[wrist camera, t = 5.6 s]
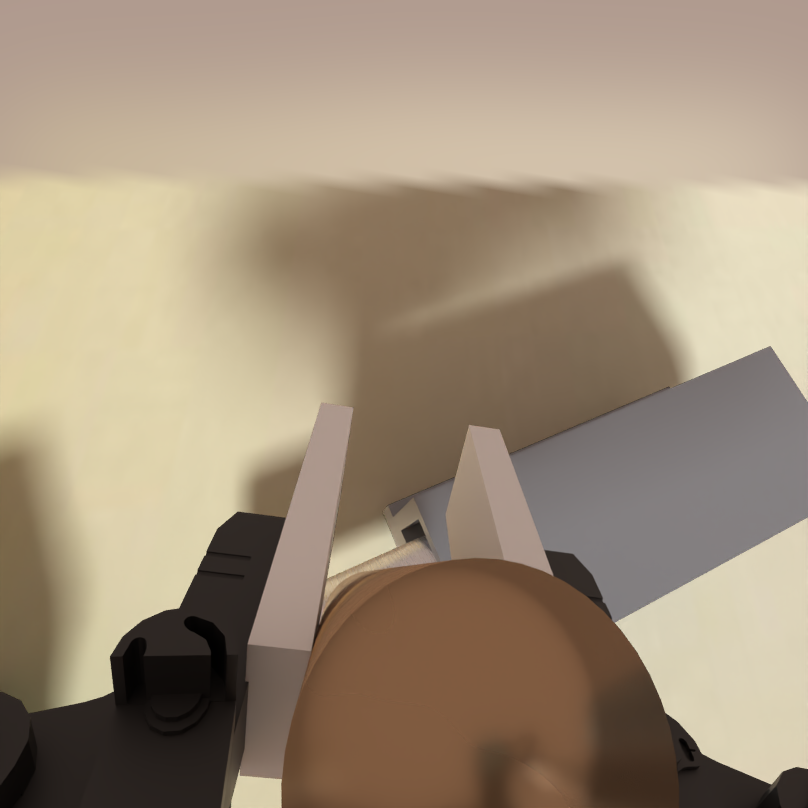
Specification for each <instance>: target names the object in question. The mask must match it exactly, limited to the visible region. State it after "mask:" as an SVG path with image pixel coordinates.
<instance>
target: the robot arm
mask: <svg viewBox="0 0 808 808" xmlns="http://www.w3.org/2000/svg"><path fill="white" fill-rule="evenodd" d="M353 408H354V407H347V406H340V405H334V404H327V403H321V406H320V409H319V412H318V415H317V419H316V422H315V425H314V428H313V432H312V435H311V438H310V442H309V445H308V448H307V451H306V455H305V458H304V461H303V464H302V468H301V471H300V474H299V477H298V481H297V484H296V487H295V491H294V494H293V497H292V500H291V504H290V507H289V510H288V513H287V517H286V518H282V517H275V516H267V515H259V514H252V513H244V512H237V513H236V514H234V515H233V516H232V517H231V518H230V519H229V520H227V521H226V522H225V523H224V524H223V525H221V526H220V527H219V528H218V529H217V531H216V533H215V535H214V537H213V539H212V541H211V543H210V545H209V547H208V549H207V553H206V556H204V558H203V560H202V562H201V564H200V566H199V568H198V572H197V575H195V576H194V579H193V581H192V583H191V585H190V587H189V589H188V591H187V593H186V595H185V597H184V599H183V601H182V604H181V606H180V608H179V609H173V610H166V611H163V612H161V613H159V614H156V615H154V616H152V617H149V618H147V619H145V620H143V621H141V622H140V623H139V624H138V625H136V626H135V627H134V628H133V629H131V630H130V631H129V632H128V633H127V634H125V635H124V636H123V637H122V639H121V640H120V642H119V643H118V645H117V646H116V648H115V650H114V651H113V653H112V654H111V656H110V661H111V670H112V679H113V688H114V692H112V693H110V694H108V695H106V696H104V697H100V698H97V699H94V700H90V701H87V702H83V703H78V704H73V705H69V706H64V707H59V708H54V709H49V710H44V711H39V712H34V713H29V714H28V712H27V710H26V709H25V707H24V705H23V703H22V702H21V701H20V700H18V699H16V698H14V697H12V696H10V695H7V694H5V693H3V692H0V808H231V800H232V796H233V792H234V788H235V784H236V780H237V776H238V773H239V769H240V776H252V777H263V778H275V779H282V774H283V764H284V755H285V748H286V744H287V739H288V735H289V730H290V726H291V721H292V718H293V714H294V711H295V707H296V704H297V700H298V697H299V693H300V690H301V686H302V683H303V679H304V676H305V672H306V669H307V665H308V662H309V658H310V655H311V652H312V649H313V645H314V642H315V638H316V635H317V631H318V628H319V623H320V617H321V611H322V605H323V599H324V593H325V587H326V581H327V575H328V569H329V563H330V557H331V551H332V545H333V539H334V533H335V527H336V521H337V515H338V509H339V503H340V496H341V489H342V483H343V476H344V469H345V462H346V455H347V449H348V442H349V435H350V428H351V421H352V415H353ZM446 522H447V530H448V538H449V545H450V553H451V560H457V559H469V558H488V559H501V560H506V561H511V562H516V563H521V564H524V565H527V566H530V567H533V568H536V569H539V570H542V571H544V572H546V573H548V574H550V575H552V576H554V577H556V578H558V579H560V580H562V581H564V582H566V583H568V584H569V585H570V586H572V587H573V588H575V589H576V590H578V591H579V592H581V593H582V594H584V595H585V596H586V597H588V598H589V599H590V600H591V601H592V602H593V603H595V604H596V605H597V606H598V607H599V608H600V609H602V610H603V611H604V612H605V613H606V614H607V616H608V617H609V618H610V619H611V620H612V616H611V614H610V612H609V610H608V608H607V605H606V603H603V597H602V595H601V592H600V590H599V588H598V586H597V584H596V582H595V579H594V577H593V575H592V574H591V573H590V572H589V571H588V570H587V568H586V567H585V566H584V565H583V564H582V563H581V562H580V561H579V560H578V559H577V557H576V556H575V555H574V554H571V553H564V552H556V551H549V550H544V549H543V546H542V543H541V541H540V538H539V535H538V532H537V530H536V527H535V524H534V521H533V519H532V516H531V513H530V511H529V508H528V505H527V502H526V500H525V497H524V494H523V492H522V489H521V486H520V483H519V481H518V478H517V475H516V473H515V470H514V467H513V464H512V462H511V459H510V456H509V454H508V451H507V448H506V445H505V443H504V440H503V437H502V434H501V432H500V429H493V428H487V427H480V426H473V425H469V427H468V431H467V435H466V438H465V442H464V446H463V450H462V454H461V458H460V461H459V465H458V469H457V473H456V477H455V481H454V484H453V488H452V492H451V496H450V500H449V503H448V507H447V511H446ZM665 714H666V713H665ZM666 718H667V721H668V724H669V727H670V731H671V736H672V741H673V745H674V750H675V755H676V763H677V772H678V782H679V808H808V769H804V768H799V767H795V768H792V769H789V770H786V771H783V772H782V773H781V774H780V776H779V777H778V778H777V779H776V780H775V781H774V783H773V784H772V785H771V784H768V783H766V782H764V781H761V780H759V779H756V778H754V777H752V776H749V775H747V774H745V773H742V772H740V771H738V770H735V769H733V768H730V767H728V766H726V765H723V764H721V763H719V762H716V761H714V760H712V759H710V758H709V757H707V756H705V755H703V754H702V753H701V752H700V750H699V748H698V746H697V744H696V743H695V741H694V740H693V738H692V737H691V736H690V735H689V734H688V733H687V732H686V731H685V730H684V728H683V727H682V726H681V725H680V724H679V723H678V722H677V721H676V720H674V719H673V718H671V717H670V716H669V715H667V714H666Z"/></svg>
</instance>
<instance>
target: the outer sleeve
mask: <svg viewBox="0 0 808 808" xmlns="http://www.w3.org/2000/svg"><path fill="white" fill-rule="evenodd" d="M509 456H510V459H511V462H512V464H513V467H514V470H515V473H516V475H517V478H518V481H519V483H520V486H521V489H522V492H523V494H524V497H525V500H526V502H527V505H528V508H529V511H530V513H531V516H532V519H533V521H534V524H535V527H536V530H537V532H538V535H539V538H540V541H541V543H542V546H543V549H544V550H549V551H556V552H564V553H571V554H574V555H575V556H576V557H577V559H578V560H579V561H580V562H581V563H582V564H583V565H584V566H585V567H586V568H587V570H588V571H589V572H590V573H591V574H592V575H593V577H594V579H595V582H596V584H597V586H598V588H599V590H600V592H601V595H602V597H603V603H606V605H607V608H608V610H609V612H610V614H611V616H612V621H613V622H614V623H615V622H617V621H618V620H620V619H622V618H624V617H626V616H628V615H629V614H631V613H633V612H635V611H637V610H639V609H640V608H642V607H644V606H646V605H648V604H650V603H651V602H653V601H655V600H657V599H659V598H661V597H662V596H664V595H666V594H668V593H670V592H672V591H673V590H675V589H677V588H679V587H681V586H683V585H684V584H686V583H688V582H690V581H692V580H694V579H695V578H697V577H699V576H701V575H703V574H705V573H707V572H708V571H710V570H712V569H714V568H716V567H718V566H719V565H721V564H723V563H725V562H727V561H729V560H730V559H732V558H734V557H736V556H738V555H740V554H741V553H743V552H745V551H747V550H749V549H751V548H752V547H754V546H756V545H758V544H760V543H762V542H763V541H765V540H767V539H769V538H771V537H773V536H774V535H776V534H778V533H780V532H782V531H784V530H785V529H787V528H789V527H791V526H793V525H795V524H796V523H798V522H800V521H802V520H804V519H806V518H807V517H808V402H807V400H806V399H805V397H804V396H803V394H802V393H801V391H800V390H799V388H798V387H797V385H796V384H795V382H794V381H793V379H792V378H791V376H790V375H789V373H788V372H787V370H786V369H785V367H784V366H783V364H782V363H781V361H780V360H779V358H778V357H777V355H776V354H775V352H774V351H773V349H772V348H771V346H769V347H767V348H765V349H762V350H760V351H758V352H755V353H753V354H751V355H748V356H746V357H743V358H741V359H739V360H736V361H734V362H732V363H729V364H727V365H725V366H722V367H720V368H717V369H715V370H713V371H710V372H708V373H706V374H703V375H701V376H699V377H696V378H694V379H692V380H689V381H687V382H684V383H682V384H680V385H677V386H675V387H673V388H670V387H667V388H664V389H662V390H660V391H657V392H655V393H653V394H650V395H648V396H646V397H643V398H641V399H638V400H636V401H634V402H631V403H629V404H627V405H624V406H622V407H619V408H617V409H615V410H612V411H610V412H608V413H605V414H603V415H601V416H598V417H596V418H593V419H591V420H589V421H586V422H584V423H582V424H579V425H577V426H574V427H572V428H570V429H567V430H565V431H563V432H560V433H558V434H555V435H553V436H551V437H548V438H546V439H544V440H541V441H539V442H537V443H534V444H532V445H529V446H527V447H525V448H522V449H520V450H518V451H515V452H513V453H510V454H509ZM454 481H455V477H454V478H451V479H449V480H446V481H444V482H442V483H439V484H437V485H435V486H432V487H430V488H428V489H425V490H423V491H420V492H418V493H416V494H413V495H411V496H409V497H406V498H404V499H401V500H399V501H397V502H394V503H392V504H390V505H388V506H387V507H386V508H385V510H384V511H383V514H384V516H385V519H386V521H387V524H388V526H389V529H390V531H391V534H392V536H393V538H394V541H395V543H396V546H397V547H399V546H401V545H403V544H406V543H408V542H410V541H412V540H415V539H417V538H419V537H421V536H424V535H426V538H427V540H428V542H429V545H430V547H431V549H432V552H433V554H434V556H435V559H436V561H437V562H440V561H448V560H451V553H450V545H449V538H448V530H447V522H446V511H447V507H448V503H449V500H450V496H451V492H452V488H453V484H454Z"/></svg>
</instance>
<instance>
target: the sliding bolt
mask: <svg viewBox="0 0 808 808" xmlns="http://www.w3.org/2000/svg"><path fill="white" fill-rule="evenodd" d="M281 788H282V808H679V782H678V772H677V763H676V755H675V750H674V745H673V741H672V736H671V731H670V727H669V724H668V721H667V718H666V714H665V711H664V708H663V705H662V702H661V699H660V697H659V695H658V692H657V690H656V688H655V686H654V683H653V681H652V679H651V677H650V674H649V673H648V671H647V669H646V667H645V666H644V664H643V662H642V660H641V659H640V657H639V655H638V653H637V652H636V650H635V649H634V647H633V646H632V645H631V643H630V642H629V641H628V639H627V638H626V636H625V635H624V634H623V632H622V631H621V630H620V629H619V628H618V626H617V625H616V624H615V623H614V622H613V621H612V620H611V619H610V618H609V617H608V616H607V614H606V613H605V612H604V611H603V610H602V609H600V608H599V607H598V606H597V605H596V604H595V603H593V602H592V601H591V600H590V599H589V598H588V597H586V596H585V595H584V594H582V593H581V592H579V591H578V590H576V589H575V588H573V587H572V586H570V585H569V584H568V583H566V582H564V581H562V580H560V579H558V578H556V577H554V576H552V575H550V574H548V573H546V572H544V571H542V570H539V569H536V568H533V567H530V566H527V565H524V564H521V563H516V562H511V561H506V560H501V559H488V558H469V559H457V560H448V561H440V562H437V561H436V559H435V556H434V554H433V552H432V549H431V547H430V545H429V542H428V540H427V538H426V535H424V536H421V537H419V538H417V539H415V540H412V541H410V542H408V543H406V544H403V545H401V546H399V547H397V548H395V549H392V550H390V551H388V552H386V553H383V554H381V555H379V556H377V557H374V558H372V559H370V560H368V561H365V562H363V563H361V564H359V565H356V566H354V567H352V568H350V569H347V570H345V571H343V572H341V573H338V574H336V575H334V576H332V577H329V578H327V581H326V587H325V593H324V599H323V605H322V611H321V617H320V623H319V628H318V631H317V635H316V638H315V642H314V645H313V649H312V652H311V655H310V658H309V662H308V665H307V669H306V672H305V676H304V679H303V683H302V686H301V690H300V693H299V697H298V700H297V704H296V707H295V711H294V714H293V718H292V721H291V726H290V730H289V735H288V739H287V744H286V748H285V755H284V764H283V774H282V783H281Z"/></svg>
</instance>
